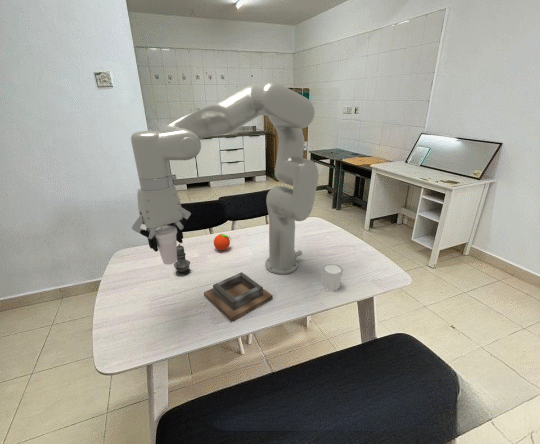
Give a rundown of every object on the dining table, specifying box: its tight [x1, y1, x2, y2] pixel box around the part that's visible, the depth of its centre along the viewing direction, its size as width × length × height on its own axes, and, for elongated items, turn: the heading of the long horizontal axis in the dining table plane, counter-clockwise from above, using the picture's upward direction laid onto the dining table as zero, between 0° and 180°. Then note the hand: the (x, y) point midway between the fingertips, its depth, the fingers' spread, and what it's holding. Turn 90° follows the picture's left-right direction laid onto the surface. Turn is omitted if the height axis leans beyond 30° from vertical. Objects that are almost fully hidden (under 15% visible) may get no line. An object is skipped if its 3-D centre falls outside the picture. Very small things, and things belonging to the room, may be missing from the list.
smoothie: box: [154, 225, 178, 266], centre depth 79 cm, size 6×6×14 cm
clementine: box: [213, 233, 232, 251], centre depth 123 cm, size 8×7×7 cm
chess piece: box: [173, 243, 191, 277], centre depth 106 cm, size 6×6×12 cm
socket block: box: [203, 271, 274, 323], centre depth 93 cm, size 16×16×4 cm
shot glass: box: [322, 263, 344, 291], centre depth 99 cm, size 7×7×7 cm
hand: (167, 244), depth 79 cm, fingers closed on smoothie, 6 cm apart
